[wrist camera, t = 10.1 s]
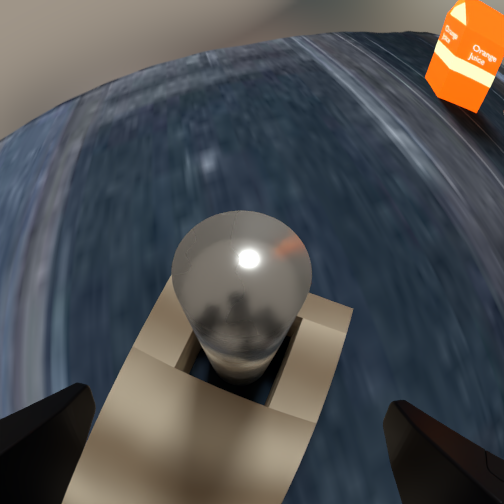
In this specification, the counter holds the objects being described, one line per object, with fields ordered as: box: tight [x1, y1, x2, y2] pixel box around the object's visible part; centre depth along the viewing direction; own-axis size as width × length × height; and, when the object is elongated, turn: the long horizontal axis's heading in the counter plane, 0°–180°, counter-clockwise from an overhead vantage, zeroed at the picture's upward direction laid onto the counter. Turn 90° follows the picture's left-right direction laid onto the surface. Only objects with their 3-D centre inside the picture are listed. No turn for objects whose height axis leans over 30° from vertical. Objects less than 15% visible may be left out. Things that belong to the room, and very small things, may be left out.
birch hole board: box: [62, 275, 353, 504], centre depth 14 cm, size 18×10×4 cm, turn 158°
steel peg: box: [172, 211, 312, 386], centre depth 13 cm, size 4×4×12 cm
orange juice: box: [425, 0, 504, 113], centre depth 31 cm, size 8×9×20 cm
